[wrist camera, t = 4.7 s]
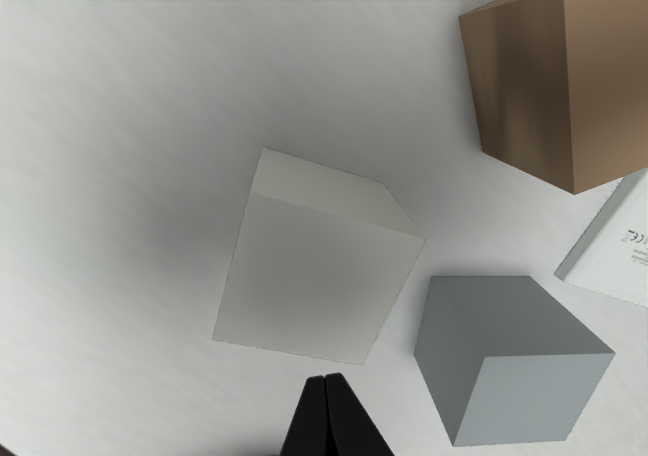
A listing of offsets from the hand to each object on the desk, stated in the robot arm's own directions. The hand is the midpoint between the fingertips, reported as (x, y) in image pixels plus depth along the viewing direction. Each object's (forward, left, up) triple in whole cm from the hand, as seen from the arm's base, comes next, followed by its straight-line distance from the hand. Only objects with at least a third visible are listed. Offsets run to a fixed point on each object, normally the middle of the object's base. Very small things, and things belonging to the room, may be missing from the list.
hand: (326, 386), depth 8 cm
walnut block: (+6, -11, -10) cm, 16 cm away
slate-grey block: (-8, -9, -10) cm, 16 cm away
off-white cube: (0, 0, -10) cm, 10 cm away
